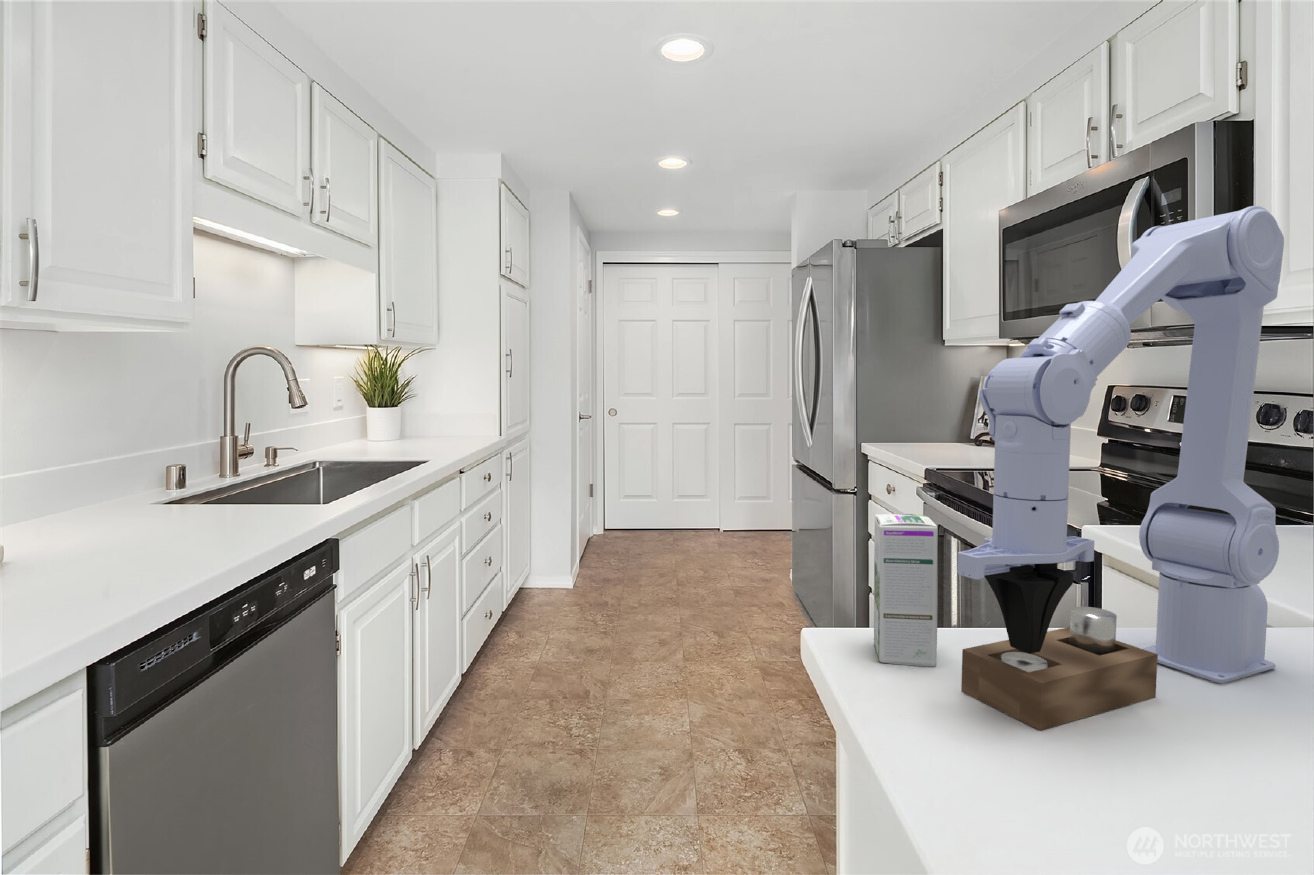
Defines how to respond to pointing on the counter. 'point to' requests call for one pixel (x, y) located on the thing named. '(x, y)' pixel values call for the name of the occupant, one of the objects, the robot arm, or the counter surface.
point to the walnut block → (1059, 680)
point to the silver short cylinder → (1093, 630)
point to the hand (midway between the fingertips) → (1025, 648)
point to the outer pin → (1024, 661)
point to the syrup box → (905, 589)
